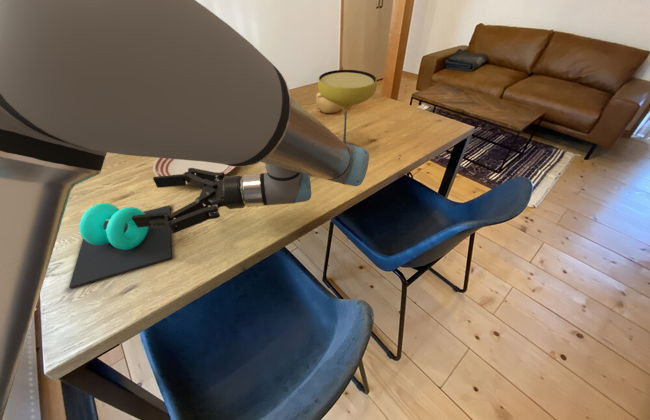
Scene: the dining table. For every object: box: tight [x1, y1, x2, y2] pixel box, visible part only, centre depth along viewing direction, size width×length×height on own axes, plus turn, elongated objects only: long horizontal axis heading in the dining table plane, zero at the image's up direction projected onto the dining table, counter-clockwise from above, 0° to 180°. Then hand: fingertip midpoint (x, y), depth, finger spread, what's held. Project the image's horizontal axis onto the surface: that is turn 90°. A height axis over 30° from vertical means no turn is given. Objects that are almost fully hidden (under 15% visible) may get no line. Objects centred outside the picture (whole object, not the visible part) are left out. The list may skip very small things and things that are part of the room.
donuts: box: [78, 202, 148, 250], centre depth 65 cm, size 10×10×10 cm
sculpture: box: [315, 91, 342, 114], centre depth 124 cm, size 11×12×11 cm
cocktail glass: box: [317, 69, 378, 146], centre depth 92 cm, size 18×18×25 cm
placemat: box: [68, 205, 172, 289], centre depth 68 cm, size 20×20×1 cm
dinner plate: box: [152, 157, 236, 185], centre depth 92 cm, size 28×27×3 cm
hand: (146, 200), depth 61 cm, fingers open, 13 cm apart
